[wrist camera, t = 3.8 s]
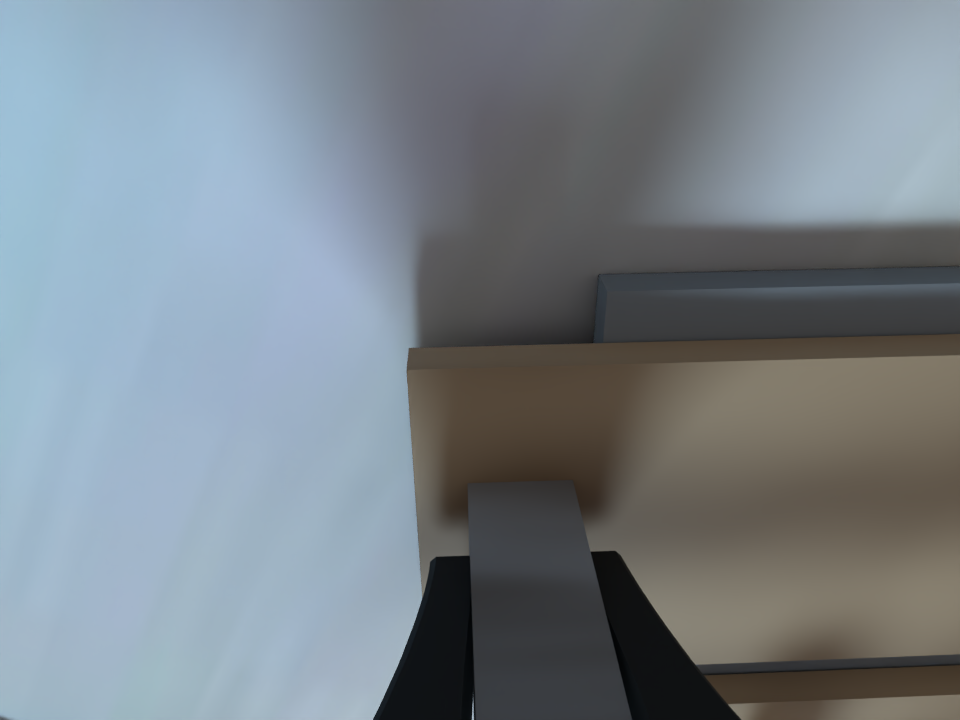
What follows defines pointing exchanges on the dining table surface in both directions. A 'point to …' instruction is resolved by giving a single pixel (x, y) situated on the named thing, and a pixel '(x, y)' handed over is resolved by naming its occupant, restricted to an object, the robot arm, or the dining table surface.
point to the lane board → (776, 315)
